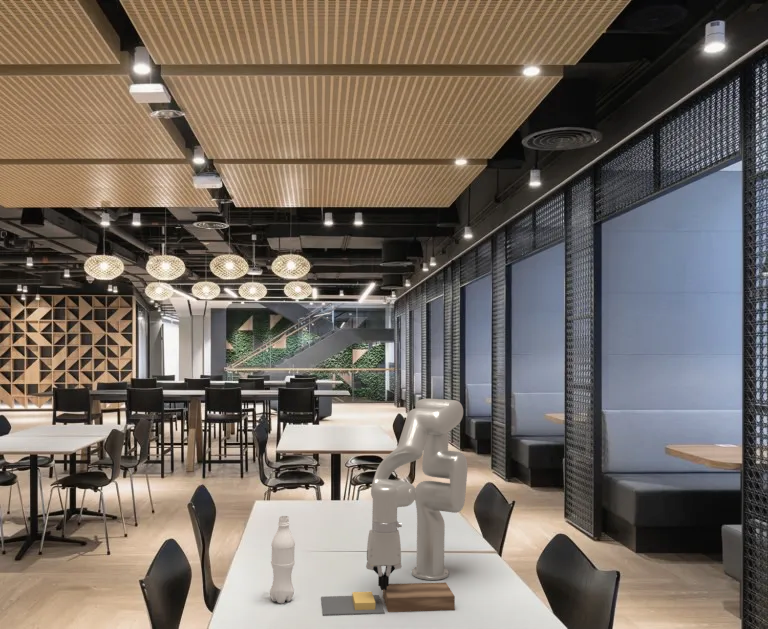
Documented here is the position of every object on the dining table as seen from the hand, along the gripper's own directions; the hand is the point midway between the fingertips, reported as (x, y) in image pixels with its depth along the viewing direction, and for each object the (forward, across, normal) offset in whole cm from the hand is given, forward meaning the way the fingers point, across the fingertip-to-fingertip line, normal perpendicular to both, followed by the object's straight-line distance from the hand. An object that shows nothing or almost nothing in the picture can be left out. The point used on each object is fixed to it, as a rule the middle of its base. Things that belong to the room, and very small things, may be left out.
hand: (383, 588), depth 199 cm
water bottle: (+5, +30, -6) cm, 31 cm away
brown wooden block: (+5, -11, 0) cm, 12 cm away
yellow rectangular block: (+2, +6, 0) cm, 6 cm away
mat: (+5, +9, 0) cm, 11 cm away
